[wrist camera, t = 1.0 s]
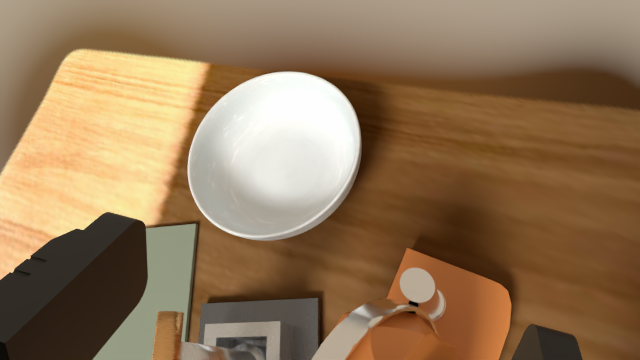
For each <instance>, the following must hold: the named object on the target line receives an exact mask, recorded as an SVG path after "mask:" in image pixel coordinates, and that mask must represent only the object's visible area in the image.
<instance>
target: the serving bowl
mask: <svg viewBox="0 0 640 360" xmlns="http://www.w3.org/2000/svg"><path fill="white" fill-rule="evenodd" d="M361 147H362V144H361V131H360V125H359V121H358V118H357V115H356V112H355V110H354V108H353V106H352V105H351V103H350V101H349V100H348V99H347V97H346V96H345V95H344V94H343V93H342V92H341V91H340V90H339V89H338V88H337V87H336V86H334V85H333V84H331V83H330V82H328V81H326V80H324V79H322V78H320V77H318V76H315V75H311V74H308V73H303V72H290V71H287V72H275V73H269V74H265V75H261V76H258V77H255V78H253V79H251V80H248V81H246V82H244V83H242V84H241V85H239V86H237V87H236V88H234V89H232V90H231V91H230V92H228V93H227V94H226V95H225V96H223V97H222V98H221V99H220V100H219V101H218V102H217V103H216V104H215V105H214V106H213V107H212V108H211V109H210V111H209V112H208V113H207V115H206V116H205V117H204V119H203V120H202V122H201V124H200V126H199V127H198V129H197V131H196V134H195V136H194V139H193V141H192V145H191V148H190V152H189V158H188V180H189V186H190V190H191V193H192V196H193V198H194V200H195V202H196V204H197V206H198V207H199V209H200V211H201V212H202V213H203V214H204V216H205V217H206V218H207V219H208V220H209V221H210V222H212V223H213V224H214V225H215V226H217V227H219V228H220V229H222V230H224V231H226V232H228V233H230V234H233V235H236V236H239V237H243V238H247V239H253V240H279V239H285V238H289V237H293V236H296V235H299V234H301V233H304V232H306V231H308V230H310V229H312V228H313V227H315V226H317V225H318V224H320V223H321V222H323V221H324V220H325V219H326V218H328V217H329V216H330V215H331V214H332V213H333V212H334V211H335V210H336V209H337V208H338V207H339V206H340V204H341V203H342V202H343V201H344V199H345V198H346V196H347V195H348V193H349V191H350V190H351V188H352V186H353V183H354V181H355V179H356V176H357V173H358V169H359V165H360V160H361Z"/></svg>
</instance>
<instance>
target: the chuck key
mask: <svg viewBox="0 0 640 360" xmlns="http://www.w3.org/2000/svg"><path fill="white" fill-rule="evenodd" d="M183 319H184V313H183V312H177V311H160V312H158V313H157V322H156V330H155V339H154V347H153V355H152V360H266V348H264V347H261V346H256V345H251V344H240V345H238V346H236V347H234V348H233V349H229V348H223V347H216V346H209V345H203V344H196V343H189V342H183V341H181V339H182V329H183Z"/></svg>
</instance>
